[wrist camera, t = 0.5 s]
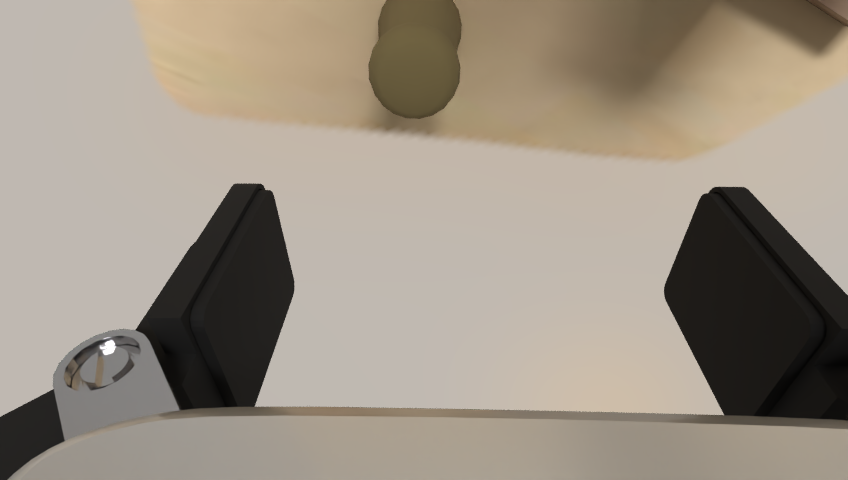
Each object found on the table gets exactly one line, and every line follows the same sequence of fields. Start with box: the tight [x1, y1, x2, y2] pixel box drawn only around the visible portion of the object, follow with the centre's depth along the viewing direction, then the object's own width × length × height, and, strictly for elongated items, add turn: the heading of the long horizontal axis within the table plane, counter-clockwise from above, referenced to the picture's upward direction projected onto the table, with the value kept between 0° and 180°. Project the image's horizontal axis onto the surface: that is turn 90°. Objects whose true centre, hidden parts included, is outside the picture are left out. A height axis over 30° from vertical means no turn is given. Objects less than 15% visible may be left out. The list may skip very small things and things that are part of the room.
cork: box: [369, 0, 462, 119], centre depth 30 cm, size 6×6×11 cm
